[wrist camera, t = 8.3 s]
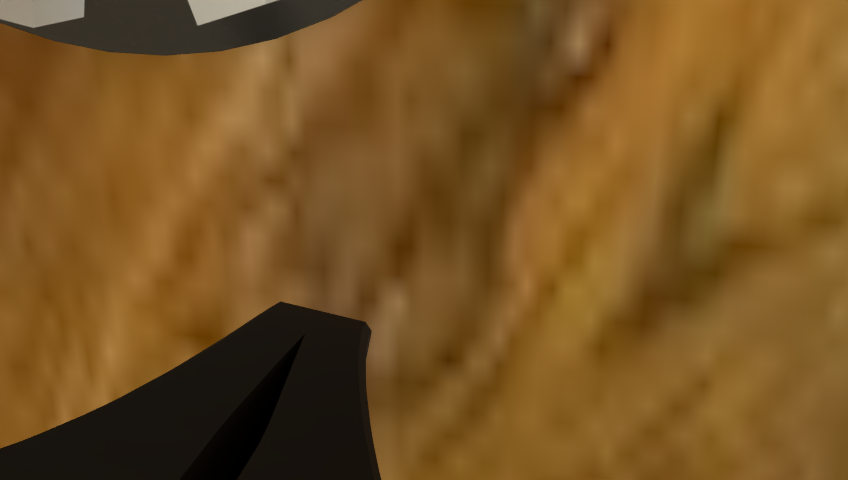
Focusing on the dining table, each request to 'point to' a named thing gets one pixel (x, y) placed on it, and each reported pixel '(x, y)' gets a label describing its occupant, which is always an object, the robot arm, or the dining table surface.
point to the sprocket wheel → (51, 3)
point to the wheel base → (181, 25)
